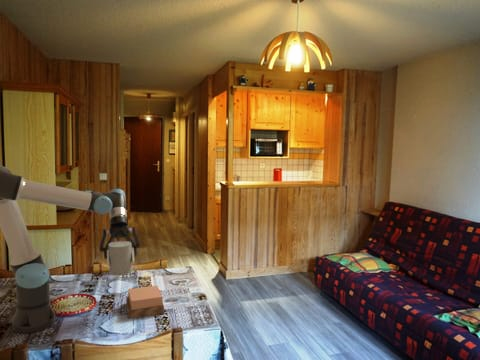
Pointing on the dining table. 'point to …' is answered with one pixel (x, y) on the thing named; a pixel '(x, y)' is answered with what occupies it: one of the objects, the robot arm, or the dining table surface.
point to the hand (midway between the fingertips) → (121, 263)
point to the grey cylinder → (120, 257)
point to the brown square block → (145, 297)
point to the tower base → (143, 310)
